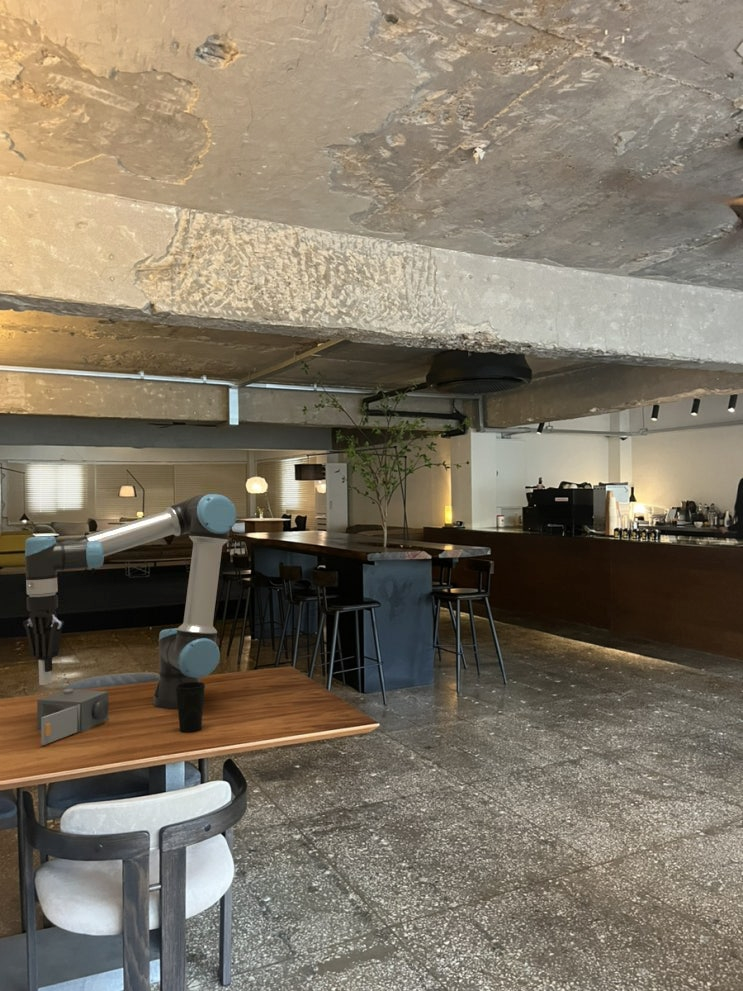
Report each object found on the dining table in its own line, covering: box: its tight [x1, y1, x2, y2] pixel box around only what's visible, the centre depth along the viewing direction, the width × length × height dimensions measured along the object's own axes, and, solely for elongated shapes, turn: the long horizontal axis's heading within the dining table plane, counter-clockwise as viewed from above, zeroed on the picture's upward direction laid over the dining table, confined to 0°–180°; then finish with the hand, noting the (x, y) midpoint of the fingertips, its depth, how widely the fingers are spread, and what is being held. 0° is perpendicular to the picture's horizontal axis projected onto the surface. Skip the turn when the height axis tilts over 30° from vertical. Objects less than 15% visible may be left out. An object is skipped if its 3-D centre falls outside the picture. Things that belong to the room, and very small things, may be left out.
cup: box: [176, 681, 206, 734], centre depth 195 cm, size 8×8×12 cm
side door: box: [40, 706, 78, 746], centre depth 187 cm, size 12×1×7 cm, turn 160°
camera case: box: [36, 688, 109, 733], centre depth 201 cm, size 16×13×9 cm
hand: (45, 683), depth 191 cm, fingers closed
